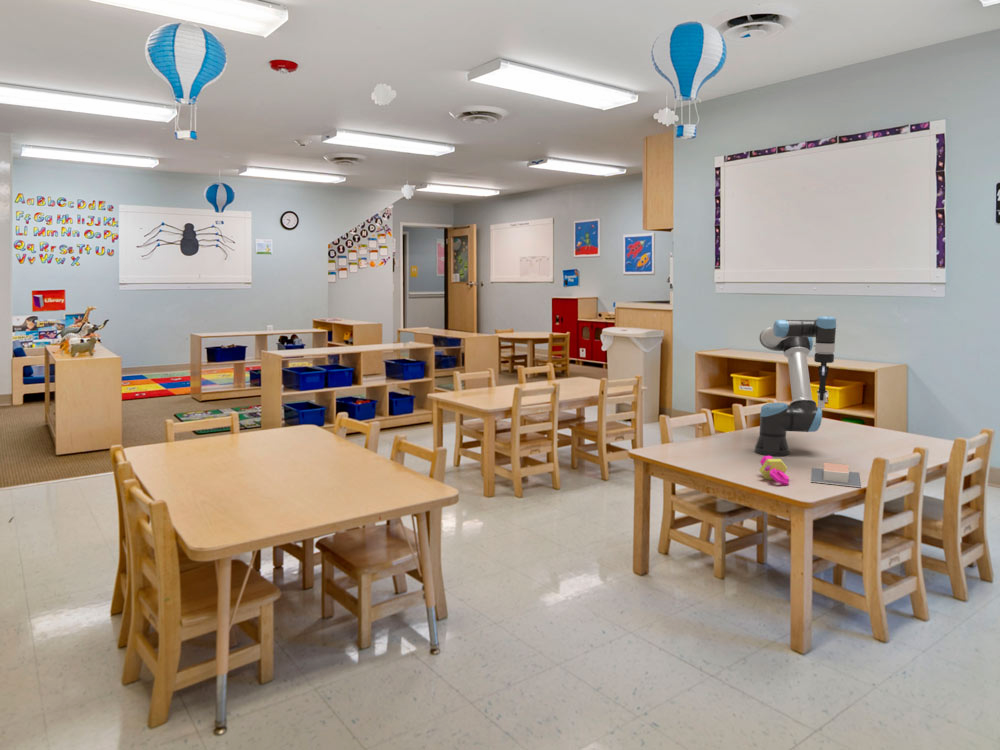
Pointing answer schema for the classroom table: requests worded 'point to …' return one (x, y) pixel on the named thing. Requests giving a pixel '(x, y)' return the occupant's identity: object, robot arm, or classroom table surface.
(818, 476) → the slate mat
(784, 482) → the toy
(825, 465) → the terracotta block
